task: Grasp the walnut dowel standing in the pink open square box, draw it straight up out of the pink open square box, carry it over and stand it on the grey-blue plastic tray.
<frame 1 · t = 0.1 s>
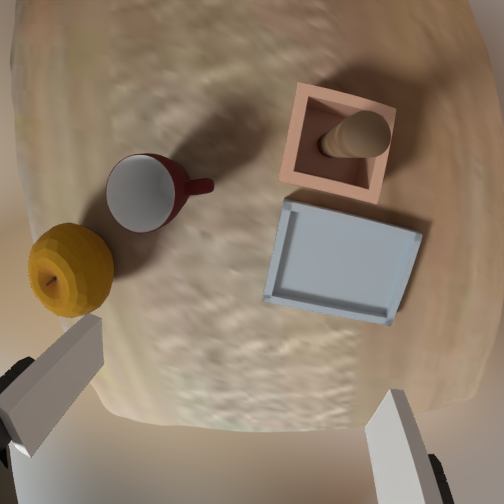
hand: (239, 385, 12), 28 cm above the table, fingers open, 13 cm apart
dowel: (329, 145, 34), point 1 cm above the table, touching pink open square box
mug: (182, 182, 38), on the table
apple: (94, 256, 43), on the table
tray: (341, 262, 39), on the table
pink open square box: (328, 145, 35), on the table
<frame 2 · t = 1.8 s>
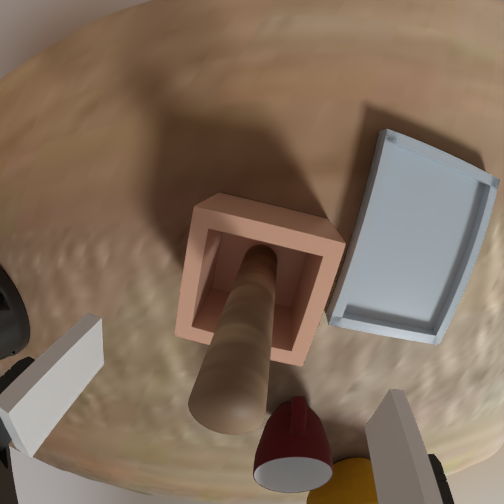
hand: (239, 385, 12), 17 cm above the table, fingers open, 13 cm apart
dowel: (260, 260, 28), point 1 cm above the table, touching pink open square box
mug: (293, 403, 34), on the table
apple: (347, 467, 38), on the table
tray: (415, 244, 27), on the table
pink open square box: (261, 258, 29), on the table
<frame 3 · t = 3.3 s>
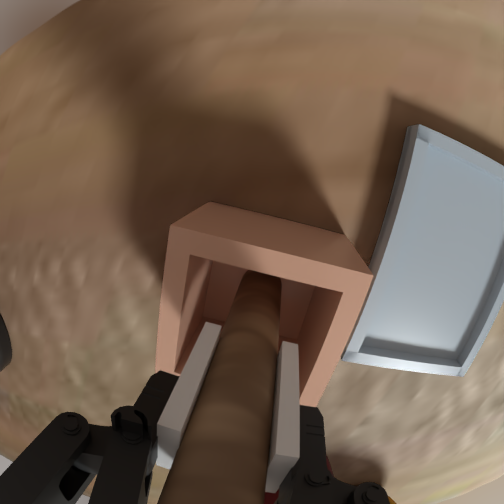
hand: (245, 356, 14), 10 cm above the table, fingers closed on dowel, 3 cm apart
dowel: (261, 285, 23), point 1 cm above the table, touching pink open square box, gripper
tray: (444, 263, 21), on the table
pink open square box: (261, 281, 23), on the table
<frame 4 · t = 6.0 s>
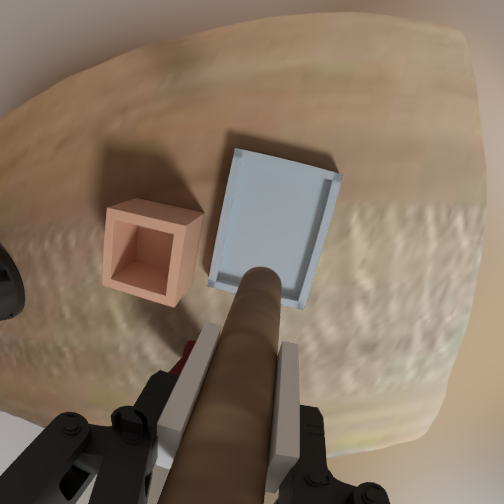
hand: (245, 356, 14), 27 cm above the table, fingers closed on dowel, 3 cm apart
dowel: (261, 285, 23), point 18 cm above the table, touching gripper
mug: (201, 353, 47), on the table
tray: (272, 229, 40), on the table
pink open square box: (164, 240, 42), on the table
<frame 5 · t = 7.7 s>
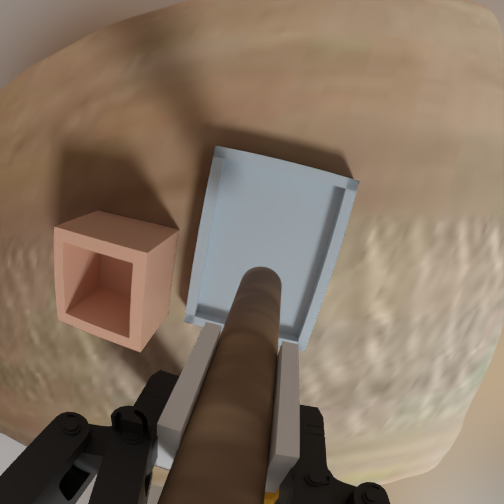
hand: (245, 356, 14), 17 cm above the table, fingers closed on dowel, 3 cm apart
dowel: (261, 285, 23), point 9 cm above the table, touching gripper
tray: (265, 251, 31), on the table
pink open square box: (132, 262, 33), on the table
when the fingers open (11 cm above the table, at t = 9.1 s): dowel drops 2 cm, resting on tray.
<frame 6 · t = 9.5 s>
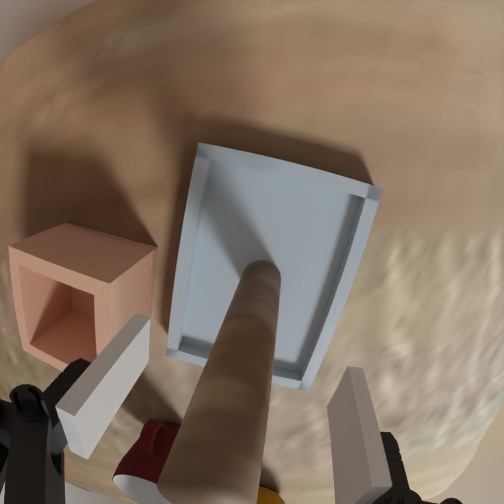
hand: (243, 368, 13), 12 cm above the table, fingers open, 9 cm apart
dowel: (261, 278, 24), point 1 cm above the table, touching tray
mug: (171, 424, 32), on the table
apple: (252, 492, 36), on the table
tray: (263, 274, 25), on the table
pink open square box: (105, 284, 27), on the table
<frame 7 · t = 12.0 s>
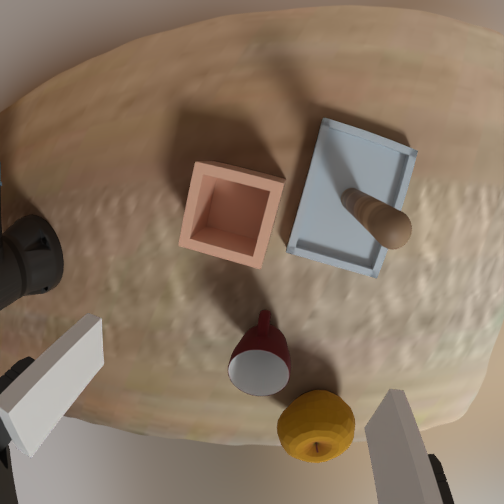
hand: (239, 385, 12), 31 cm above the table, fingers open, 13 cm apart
dowel: (352, 199, 38), point 1 cm above the table, touching tray
mug: (265, 326, 47), on the table
apple: (316, 402, 50), on the table
tray: (351, 198, 39), on the table
pink open square box: (240, 205, 42), on the table
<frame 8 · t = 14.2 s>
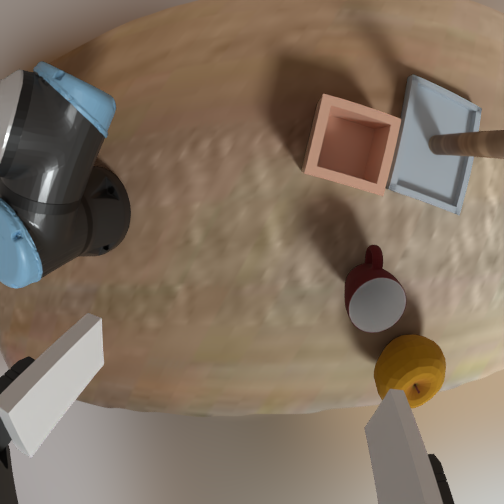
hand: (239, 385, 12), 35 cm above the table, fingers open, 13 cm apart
dowel: (436, 145, 38), point 1 cm above the table, touching tray
mug: (361, 269, 46), on the table
apple: (399, 350, 50), on the table
tray: (434, 145, 39), on the table
pink open square box: (343, 146, 41), on the table
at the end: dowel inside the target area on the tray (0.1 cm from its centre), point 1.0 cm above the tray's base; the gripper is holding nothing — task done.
